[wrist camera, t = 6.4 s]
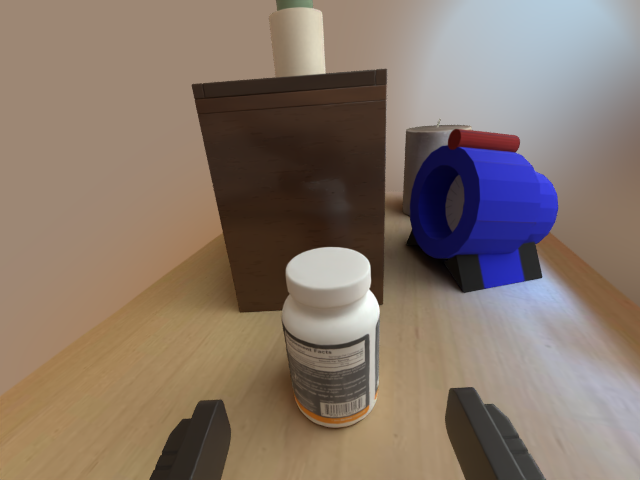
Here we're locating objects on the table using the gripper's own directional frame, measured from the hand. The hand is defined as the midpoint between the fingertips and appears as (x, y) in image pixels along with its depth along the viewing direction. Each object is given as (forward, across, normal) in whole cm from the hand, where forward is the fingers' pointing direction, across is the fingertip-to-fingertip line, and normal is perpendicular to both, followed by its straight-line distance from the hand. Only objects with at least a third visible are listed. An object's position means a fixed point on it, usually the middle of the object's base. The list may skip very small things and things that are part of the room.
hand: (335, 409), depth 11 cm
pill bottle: (+7, 0, +8) cm, 11 cm away
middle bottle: (+34, +2, -11) cm, 36 cm away
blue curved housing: (+25, -17, +8) cm, 31 cm away
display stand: (+34, +2, +8) cm, 35 cm away
